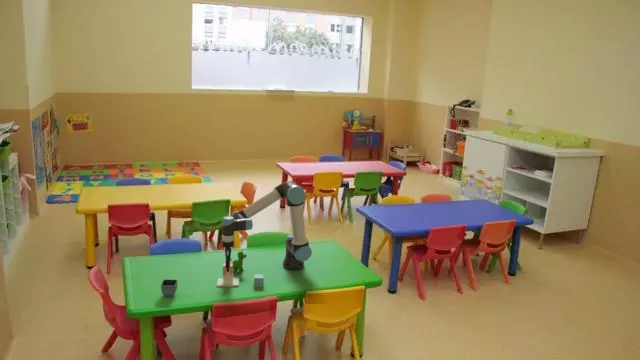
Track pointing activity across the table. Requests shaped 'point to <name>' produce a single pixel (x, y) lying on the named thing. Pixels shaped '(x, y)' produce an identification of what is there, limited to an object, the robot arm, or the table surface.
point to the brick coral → (225, 268)
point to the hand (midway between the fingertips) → (228, 273)
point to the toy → (239, 262)
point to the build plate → (235, 282)
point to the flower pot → (169, 287)
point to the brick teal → (258, 280)
